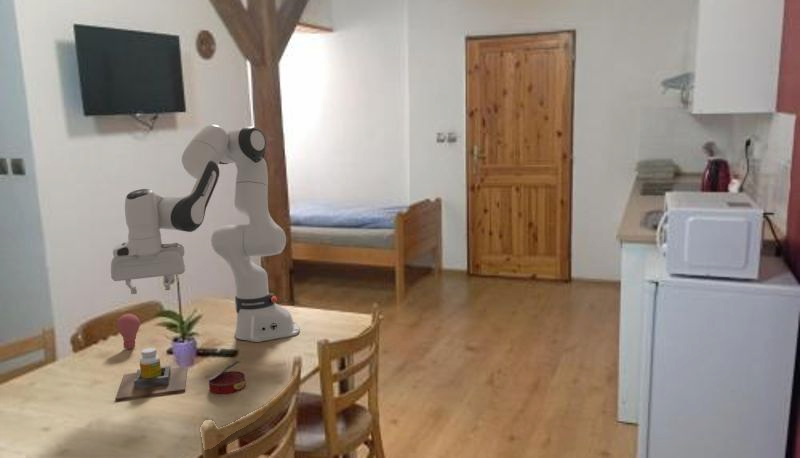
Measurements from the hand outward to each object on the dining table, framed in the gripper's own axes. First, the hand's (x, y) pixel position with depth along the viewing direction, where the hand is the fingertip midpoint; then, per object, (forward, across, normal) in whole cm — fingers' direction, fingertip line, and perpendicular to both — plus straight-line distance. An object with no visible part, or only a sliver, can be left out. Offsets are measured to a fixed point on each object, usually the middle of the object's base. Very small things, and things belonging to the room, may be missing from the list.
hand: (151, 291), depth 192 cm
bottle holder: (+25, +2, +9) cm, 27 cm away
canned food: (+25, -19, +20) cm, 37 cm away
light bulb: (+26, +11, -26) cm, 38 cm away
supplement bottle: (+24, +2, +10) cm, 26 cm away
